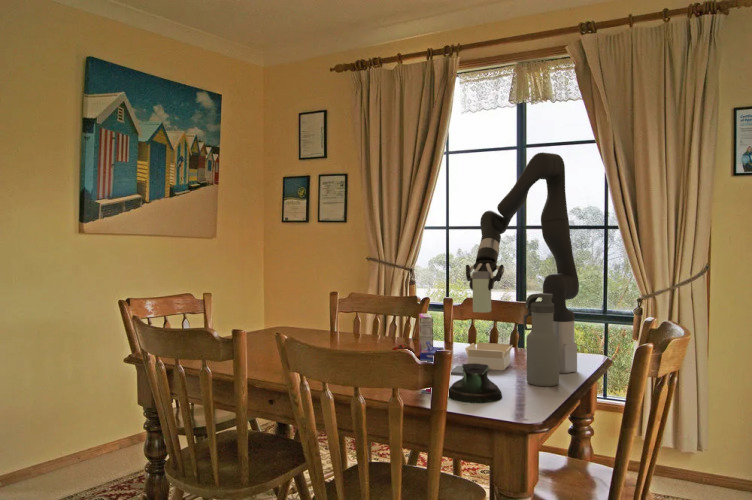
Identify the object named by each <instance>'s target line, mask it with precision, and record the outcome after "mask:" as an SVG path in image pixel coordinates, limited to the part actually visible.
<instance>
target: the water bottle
mask: <svg viewBox="0 0 752 500" xmlns="http://www.w3.org/2000/svg"><path fill="white" fill-rule="evenodd" d="M539 298H541V300H538V299H539ZM551 298H553V294H546V293H543V292H539V293H532V294H530V295H528V297H526V300H525V309H527V313H526V314H525V315H524V316H523V328H524V329H523V330H524V331H530V332H529V333H528V334H527V336H526V340H525V342H526V347H525V348H526V351H525V352H526V382H527V383H528V384H529V385H531V386H535V387H544V388H545V387H555V386H557V385H559V383H560V373H559V338H558V336H557V335H556V334H555V333H554V332H553V314H554V308H553V307H554V304H553V303H552V300H551ZM528 317H531V327H528V326H527V325H528V324H527V319H528Z"/></svg>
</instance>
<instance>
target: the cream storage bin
mask: <svg viewBox="0 0 752 500" xmlns="http://www.w3.org/2000/svg"><path fill="white" fill-rule="evenodd" d="M512 348H513V344H509V343H494V342H493V343H492V342H476V345H475V343H474V342H473V343H471V344H470V345H468V346H466V347H465V351H466V354H467V364H470V363H471V364H472V363H475V364H486V365H488V366H489V370H493V371H496V370H497V371H505V370H506V369H507V367H508V366H509V365H511V351H512Z"/></svg>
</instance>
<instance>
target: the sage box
mask: <svg viewBox="0 0 752 500" xmlns="http://www.w3.org/2000/svg"><path fill="white" fill-rule="evenodd" d="M471 273H472V274H471V276H472V275H473V290H472V312H473V313H485V314H486V313H491V312H492V289H491V290H489V289H488V284H489V279H490V272H488V271H475V272H474V271H472V272H471Z"/></svg>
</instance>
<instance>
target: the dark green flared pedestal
mask: <svg viewBox="0 0 752 500" xmlns="http://www.w3.org/2000/svg"><path fill="white" fill-rule="evenodd" d="M461 366H462V371H463V373H464V374H463V375H462V376H463V377H462V378H460V379H458V380H456V381H455V382H453V383H452V385H451V386H450V387H449V388H448V389H449V398H448V399H449V400H451V401H455V402H459V403H464V404H462V405H463V406H467V405H468V404H488V403H494V402H495V403H496V402H498V401H501V400H502V399H503V394H502V390H501V389H500V388H499V387H498V385H496V384H495V383H494V382H493V381H492V380H491V379H490V378H489V377H488V374H487V373H488V371H489V370H490V369H489V366H488V365H486V364H475V363H472V364H471V363H470V364H468V363H462V364H461ZM488 369H489V370H488ZM487 370H488V371H487Z"/></svg>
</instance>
